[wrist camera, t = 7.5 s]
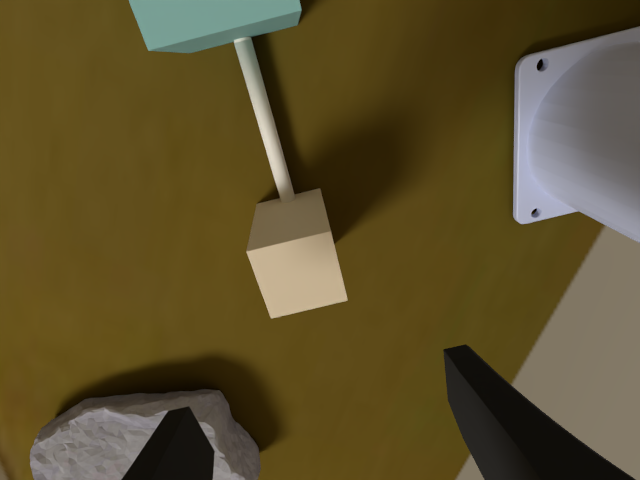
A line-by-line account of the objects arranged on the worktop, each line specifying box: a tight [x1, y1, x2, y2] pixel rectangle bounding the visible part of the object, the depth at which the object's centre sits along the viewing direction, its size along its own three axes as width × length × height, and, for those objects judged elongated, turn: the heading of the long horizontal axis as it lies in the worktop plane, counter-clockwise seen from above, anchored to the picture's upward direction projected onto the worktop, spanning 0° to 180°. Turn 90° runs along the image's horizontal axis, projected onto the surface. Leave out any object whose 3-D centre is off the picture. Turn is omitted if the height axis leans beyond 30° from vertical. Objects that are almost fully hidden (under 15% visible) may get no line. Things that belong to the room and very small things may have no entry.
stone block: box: [30, 389, 260, 480], centre depth 24 cm, size 12×5×10 cm
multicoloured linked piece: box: [129, 0, 348, 319], centre depth 14 cm, size 15×4×5 cm, turn 13°
